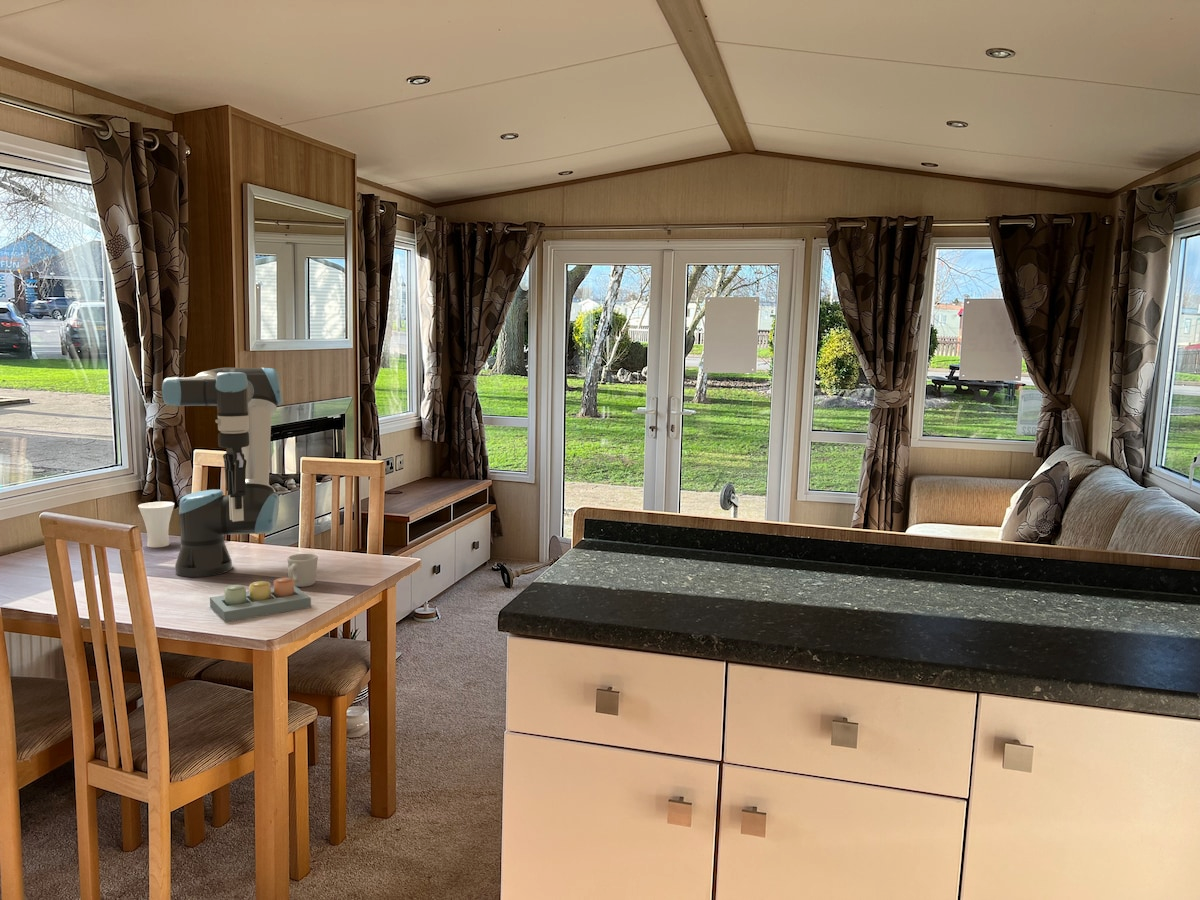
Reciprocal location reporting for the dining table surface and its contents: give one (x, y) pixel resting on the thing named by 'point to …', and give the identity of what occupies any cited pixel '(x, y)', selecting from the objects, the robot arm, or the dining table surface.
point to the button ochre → (260, 591)
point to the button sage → (235, 595)
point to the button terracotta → (283, 587)
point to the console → (259, 606)
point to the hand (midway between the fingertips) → (236, 519)
